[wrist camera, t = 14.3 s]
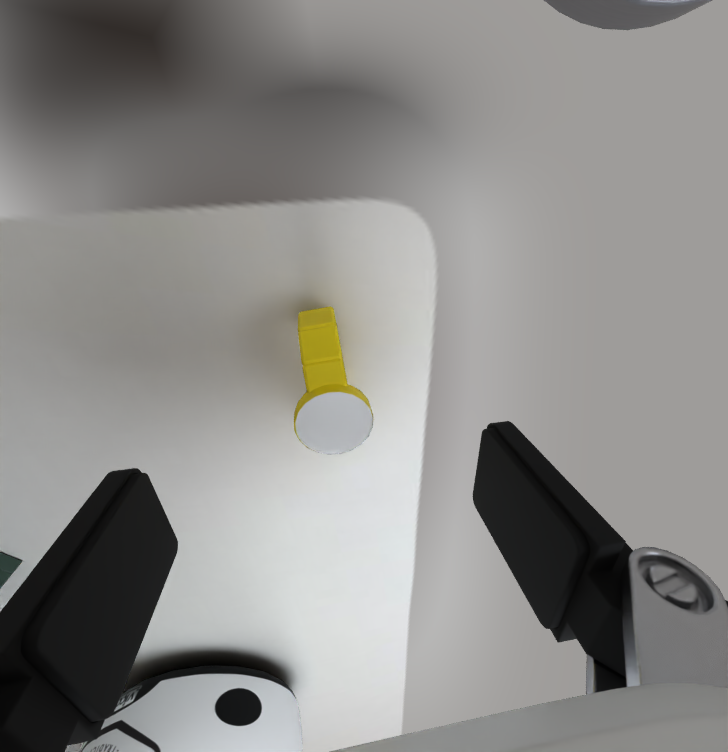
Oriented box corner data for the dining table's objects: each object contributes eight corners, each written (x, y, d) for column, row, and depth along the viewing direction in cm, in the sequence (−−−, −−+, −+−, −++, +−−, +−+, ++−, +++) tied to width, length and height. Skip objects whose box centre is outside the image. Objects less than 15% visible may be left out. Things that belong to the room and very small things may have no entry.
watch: (285, 299, 15) (269, 350, 10) (345, 288, 15) (361, 333, 10) (312, 406, 18) (311, 491, 13) (362, 397, 18) (382, 477, 13)
